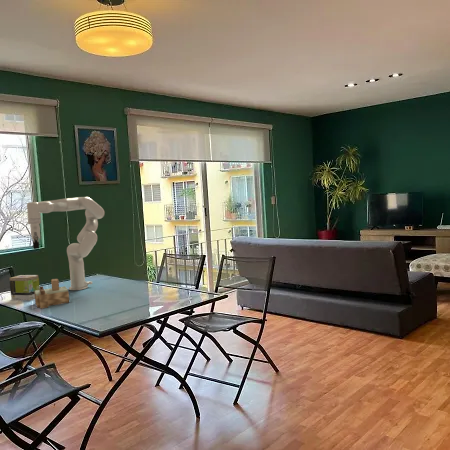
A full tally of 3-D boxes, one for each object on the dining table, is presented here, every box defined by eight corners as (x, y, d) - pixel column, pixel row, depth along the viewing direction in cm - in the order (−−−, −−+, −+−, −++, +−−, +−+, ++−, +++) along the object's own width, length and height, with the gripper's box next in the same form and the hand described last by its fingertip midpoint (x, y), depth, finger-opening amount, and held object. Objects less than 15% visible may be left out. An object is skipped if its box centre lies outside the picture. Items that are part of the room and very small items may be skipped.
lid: (65, 290, 280) (64, 276, 280) (68, 293, 270) (67, 279, 270) (35, 294, 272) (33, 280, 272) (36, 298, 262) (35, 284, 261)
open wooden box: (66, 298, 281) (65, 286, 280) (70, 303, 267) (69, 290, 266) (35, 303, 273) (34, 290, 272) (38, 309, 259) (36, 295, 258)
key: (43, 290, 269) (42, 285, 269) (45, 293, 260) (44, 288, 260) (39, 291, 268) (39, 286, 268) (41, 294, 259) (40, 289, 259)
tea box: (41, 297, 290) (39, 274, 289) (29, 301, 281) (27, 277, 279) (22, 296, 295) (20, 274, 294) (10, 300, 286) (8, 277, 284)
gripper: (41, 221, 280) (43, 248, 281) (40, 220, 296) (41, 246, 297) (28, 222, 277) (30, 249, 278) (27, 221, 293) (29, 247, 294)
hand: (36, 248), depth 288 cm, fingers open, 9 cm apart
